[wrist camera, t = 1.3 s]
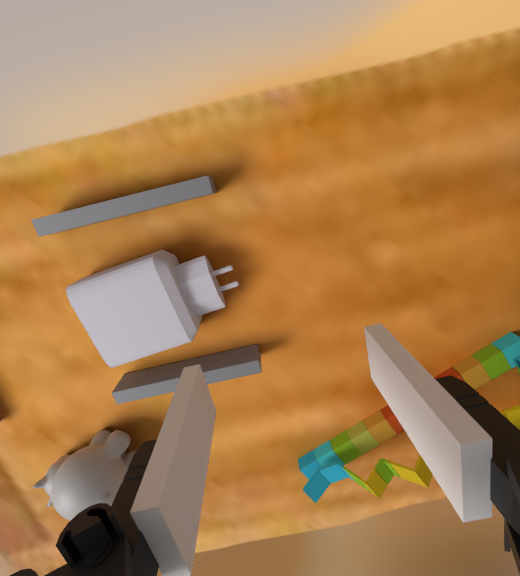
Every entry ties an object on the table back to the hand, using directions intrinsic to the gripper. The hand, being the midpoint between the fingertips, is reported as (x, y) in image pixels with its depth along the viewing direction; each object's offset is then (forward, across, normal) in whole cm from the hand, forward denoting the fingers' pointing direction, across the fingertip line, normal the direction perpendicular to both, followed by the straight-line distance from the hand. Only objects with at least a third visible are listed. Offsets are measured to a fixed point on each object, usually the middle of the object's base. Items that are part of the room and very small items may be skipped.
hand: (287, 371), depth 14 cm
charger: (+20, +11, 0) cm, 22 cm away
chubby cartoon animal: (+19, +26, +18) cm, 37 cm away
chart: (+20, -13, +22) cm, 32 cm away
